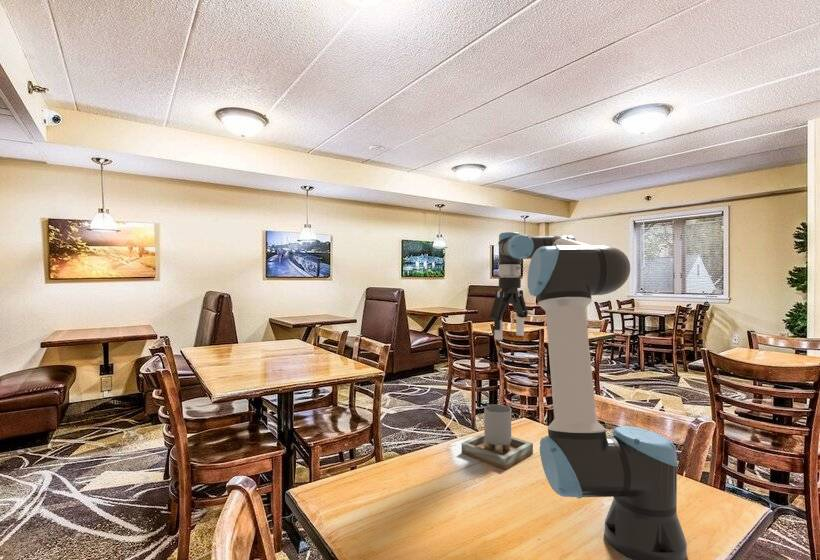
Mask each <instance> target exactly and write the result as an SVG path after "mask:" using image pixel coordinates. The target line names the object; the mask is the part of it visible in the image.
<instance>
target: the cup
mask: <svg viewBox="0 0 820 560" xmlns="http://www.w3.org/2000/svg"><path fill="white" fill-rule="evenodd" d="M483 409H484V411H483V412H484V413H483V416H484V417H483V418H484V420H483V423H484V424H483V426H484V427H483V428H484V429H483V430H484V432H483V433H484V440H485V441H486V442H488V443H490V444H494V445H507V444H509V443H511V437H512V408H511V407H510V406H508V405H502V404H488V405H486V406H484V408H483Z"/></svg>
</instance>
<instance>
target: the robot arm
mask: <svg viewBox="0 0 820 560" xmlns="http://www.w3.org/2000/svg"><path fill="white" fill-rule="evenodd" d="M497 244H498V276H499V278H498V288H499V289H501V290H496V291H495V297H494V301H493V304H492V308H491V312H490V316H489V319H491V321H493V324H494V325H493V327H494V340H496V341H497V340H498V341H503V339H504V338H503V337H504V336H503V333H504V331H503V320H502V318H503V316H504V314H505V312H506V309H507V308H508V306H509V305H512V307H513V309H514V311H515V314H516V315H517V316H516V318H515V320H516V321H515V327H516V330H515V331H516V333H515V335H516V336H519V337H524V335H525V318H527V317H528V315H529V311H528V309H527V304H526V302H525V296H524V291H523V290H522V289H520V288H521V287H522V286H521V285H522V284H521V283H522V282H521V281H522V279H521V277H520V276H522V275H521V273H522V271H521V270H522V266H521V261H522V260H523V259H524V260H530V262H529V267H528V272H527V289H528V292H529V294H530V295H531V296H533V297H537V305H538V306H539V307H540V308H541V309H543V311H544V312H545V323H546V332H547V346H548V347H547V348H548V356H549V357H548V358H549V370H550V382H551V394H552V406H553V420H552V421H551V423H550V424H549V425H548V426H547V435H545V436H544V437H541V439H540V441H539V445H540V446H539V454H540V455H539V456H540V460H541V465H542V469H543V473H544V475H545V477H546V479H547V480H546V481H547V482H548V484H549V486H550V487H551V489H552V490H553V492H554V493H556V495H559V496H560V497H565V498H577V499H582V498H611V497H613V499H612V501H611V504H610V507H609V509H608V512H607V515H606V518H605V520H604V536H605V539H606V540H607V542H608V543H609V545H611V547H613V549H615V550H616V551H618V552H619V553H620V554H622V555H624V556H626V557H628V558H630V559H632V560H686V559H687V554H688V549H687V547H688V546H687V540H686V537H685V535H684V531H683V529H682V525H681V522H680V519H679V516H678V513H677V512H678V511H677V510H678V509H677V501H678V500H677V498H678V497H677V494H678V492H677V490H678V489H677V488H678V487H677V486H678V484H677V483H678V466H679V463H678V455H677V454H678V453H677V448H676V446H675V445H674V443H673V442H672V441H671V440H670V439H669V438H667V437H665V436H663V435H661V434H658V433H657V432H654V431H651V430H648V429H645V428H641V427H637V426H636V427H635V426H631V425H630V426H629V425H618V426H616V427H614V429H613V431H612V435H611V436H610V435H609V436H607V431H606V428H605V427H604V426H603V424H601V423H600V422H599V420H598V418H597V409H596V399H595V391H594V388H595V387H594V381H593V371H592V369H593V368H592V361H591V352H590V343H589V342H590V340H589V332H588V323H587V312H586V309H587V307H588V306H590V304H591V303H592V302H593V300H592V296H602V295H607V294H610V293H613V292H616V291H617V290H619V289H620V288H621V287H623V286H624V285H625V283H627V280H629V277H630V273H631V262H630V260H629V258H628V255H626V254H625V253H624V252H623V251H622V250H621V249H619V248H617V247H613V246H609V245H591V244H587V243H584V242H580V241H577V239H576V237H574V236H573V235H564V234H563V235H526V234H521V233H520V232H518V231H517V232H516V231H507V232H500V233H499V234H498V243H497Z"/></svg>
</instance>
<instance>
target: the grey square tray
mask: <svg viewBox="0 0 820 560" xmlns="http://www.w3.org/2000/svg"><path fill="white" fill-rule="evenodd" d="M461 454H463V455H465V456H469V457H471V458H473V459H475V460H478V461H481V462H484V463H486V464H489V465H491V466H494V467H496V468H499V469H501V470H504V471H505V470H508V468H510V467H512V466H514V465H515V464H517V463H520V462H521V461H523V460H524V459H526V458H527V457H530V456H531V455H533V454H534V443H533V442H531V441H527V440H524V439H520V438H517V437H514V436H511V443H509V444H507V445H494V444H490V443H488V442H486V441H485V440H484V432H483V433H481V434H478V435H476V436H474V437H472V438H469V439H467V440H464V441H463V442H461Z"/></svg>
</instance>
